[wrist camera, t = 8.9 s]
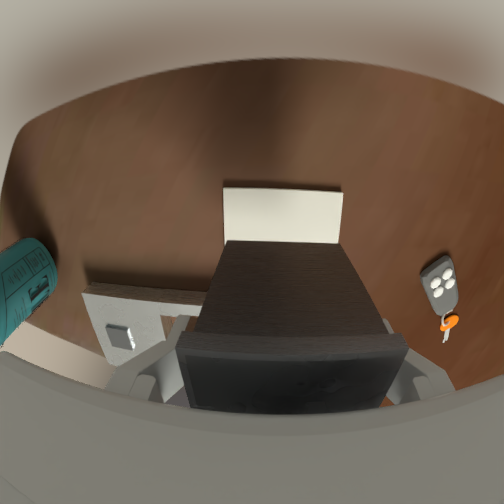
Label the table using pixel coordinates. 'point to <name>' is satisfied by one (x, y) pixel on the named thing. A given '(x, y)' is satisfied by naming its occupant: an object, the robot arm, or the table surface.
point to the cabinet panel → (135, 316)
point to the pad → (282, 215)
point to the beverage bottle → (23, 282)
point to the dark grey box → (288, 334)
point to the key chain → (441, 290)
